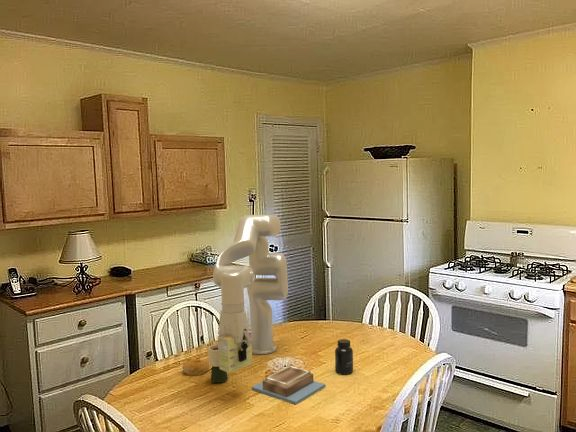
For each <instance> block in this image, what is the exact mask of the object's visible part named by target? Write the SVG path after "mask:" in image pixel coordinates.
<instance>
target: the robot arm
mask: <svg viewBox="0 0 576 432" xmlns="http://www.w3.org/2000/svg"><path fill="white" fill-rule="evenodd" d="M281 226H282V225H281V220H280V217H279V216H277V215H275V214H247V215H244V216H242V217H240V218H238V222H237V227H236V231H235V235H234V238H233V242H232V243H231V244H230V245H228V246H227V247H226V248H225V249H223V251H221V253H220V254H219V255H218V256H217V258H216V259H215V264H214V268H213V273H212V280H213V283H214V285H215V286H216V287H219V288H220V292H221V303H220V304H221V310H220V314H219V326H218V327H219V328H218V329H219V331H218V332H217V336H220V335H226V336H230V337H233V338H234V343H238V346H239V349H240V350H239V351H238V354H239V362H242V361H244V360H246V359H247V354H246V349H247V348H248V346H249V345H250V344H251V343H252V355H268V354H272V353H275V352H276V351H277V350H278V346H277V344H275V343H274V330H273V329H274V327H273V326H274V325H273V308H272V307H271V305H270V303H269V302H268V301H284V300H286V299H287V298H288V295H289V294H288V293H289V284H288V283H289V282H288V264H287V259H286V256H285V255H284V254H283V253H280V252H269V241H268V239H267V237H276V236H278V235H279V234H280V231H281ZM247 257H248V263H249V264H248V265H231V263H233V262H236V261H239V260H242V259H244V258H247ZM255 276H274V277H255ZM244 289H247V291H246V292H247V295H248V302H249V315H250V316H249V319H250V331H251V338H250V336H249V332H248V331H249V323H248V317H247V312H246V311H245V292H244ZM242 342H243V346H242Z"/></svg>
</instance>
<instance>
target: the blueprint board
mask: <svg viewBox="0 0 576 432" xmlns="http://www.w3.org/2000/svg"><path fill="white" fill-rule="evenodd" d="M313 381H314V382H313V383H311V384H309V385H308V386H306V387H304V388H302V389H301V390H299V391H297V392H295V393H294V394H292V395H290V396H288V397H285V396H282V395H279V394H276V393H273V392H270V391H267V390H264V389H263V380H262V381H260V382H259V383H256V384H255V385H252V386H251V390H252V391H254V392H256V393H257V392H258V393H261V394H264V395H267V396H269V397H273V398H276V399H278V400H280V401H284V402H287V403H290V404H293V405H295V406H297V405H298V404H300V403H302V402H303V401H305V400H306V399H308V398H309V397H312V396H313V395H314V394H316V393H317V392H320V391H322V390H323V389H324V388H326V383H324V382H319V381H316V380H313Z"/></svg>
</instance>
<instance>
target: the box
mask: <svg viewBox="0 0 576 432" xmlns="http://www.w3.org/2000/svg"><path fill="white" fill-rule="evenodd" d="M248 332H249V336H250V338H251V330H248ZM217 344H218V350H219V369H221V370H223V371H225V372H227V374H232V373H234V372H237V371H239V370H241V369H243V368H245V367H248V366H251V365H253V364H254V363H253V353H252V343H251V344H250V345H249V346H248V348H247V349H246V354H247V359H246V360H244V361H242V362H239V354H238V351H239V350H240V349H239V346H238V343H234V338H233V337H230V336H226V335H220V336H219V335H217ZM242 346H243V342H242Z"/></svg>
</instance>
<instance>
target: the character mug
mask: <svg viewBox="0 0 576 432" xmlns="http://www.w3.org/2000/svg"><path fill="white" fill-rule="evenodd" d="M207 352H208V353H207V355H208V364H209V367H210V366H211V369H210V370H211V373H210V382H212V383H224V382H227V381H228V379H229V378H228V373H227V372H225V371H223V370H221V369H219V350H218V343H217V344H211V345H210V346H208V348H207Z"/></svg>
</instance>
